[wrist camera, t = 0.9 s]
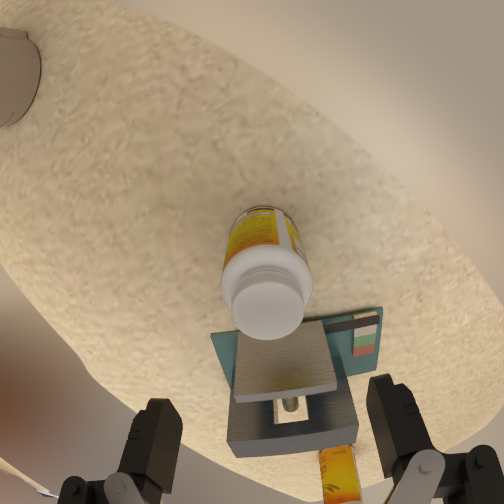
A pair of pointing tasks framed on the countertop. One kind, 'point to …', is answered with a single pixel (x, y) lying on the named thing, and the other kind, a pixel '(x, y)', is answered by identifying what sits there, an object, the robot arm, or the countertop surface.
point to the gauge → (318, 405)
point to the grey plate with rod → (289, 363)
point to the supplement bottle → (266, 274)
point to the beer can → (340, 476)
